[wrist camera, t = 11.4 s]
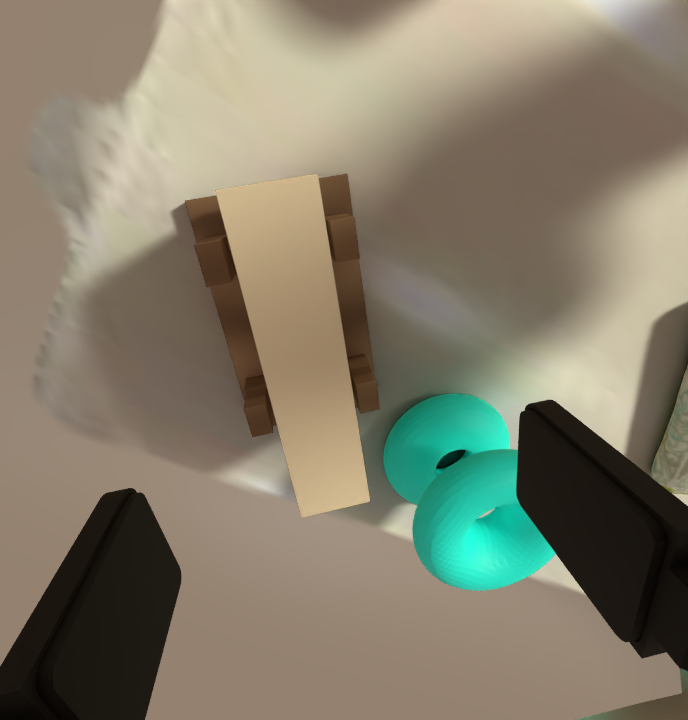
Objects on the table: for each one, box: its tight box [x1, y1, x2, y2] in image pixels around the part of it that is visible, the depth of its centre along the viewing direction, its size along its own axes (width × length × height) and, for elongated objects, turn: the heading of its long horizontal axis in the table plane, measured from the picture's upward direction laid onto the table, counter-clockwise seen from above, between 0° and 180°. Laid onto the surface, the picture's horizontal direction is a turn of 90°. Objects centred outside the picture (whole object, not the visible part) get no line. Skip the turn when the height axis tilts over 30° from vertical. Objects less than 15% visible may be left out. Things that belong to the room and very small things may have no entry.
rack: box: [185, 174, 380, 437], centre depth 23 cm, size 15×9×5 cm, turn 9°
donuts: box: [383, 394, 556, 591], centre depth 27 cm, size 10×10×10 cm
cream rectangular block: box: [215, 174, 370, 518], centre depth 19 cm, size 15×4×7 cm, turn 9°
